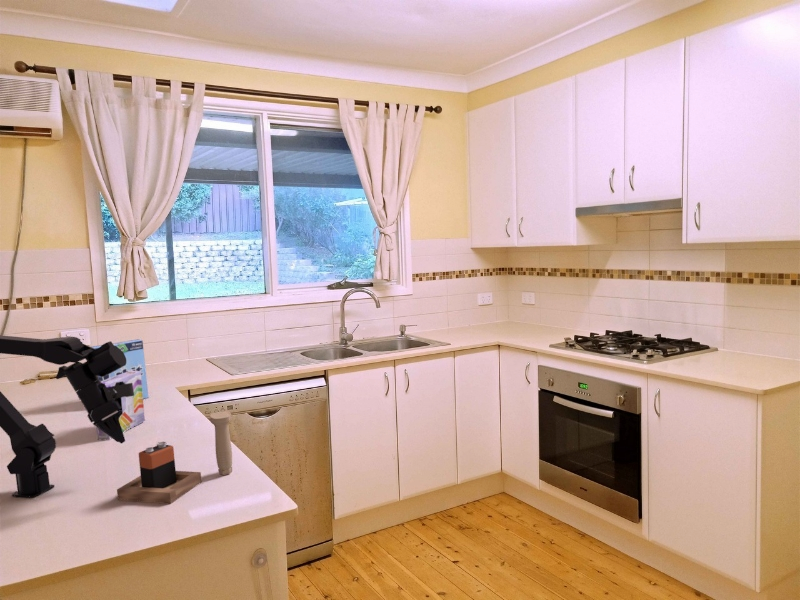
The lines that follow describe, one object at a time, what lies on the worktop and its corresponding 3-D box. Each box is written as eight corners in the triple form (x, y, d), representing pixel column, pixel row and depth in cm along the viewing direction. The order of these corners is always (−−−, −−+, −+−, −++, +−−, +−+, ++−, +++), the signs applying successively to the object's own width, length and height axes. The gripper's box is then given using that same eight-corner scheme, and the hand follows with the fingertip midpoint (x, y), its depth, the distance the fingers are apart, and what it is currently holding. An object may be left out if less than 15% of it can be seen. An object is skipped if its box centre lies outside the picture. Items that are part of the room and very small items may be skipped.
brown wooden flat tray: (118, 499, 138) (116, 489, 138) (152, 479, 150) (151, 469, 149) (170, 503, 134) (169, 492, 134) (201, 482, 146) (200, 472, 146)
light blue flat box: (144, 396, 237) (138, 338, 234) (149, 398, 233) (143, 340, 231) (91, 407, 223) (84, 347, 221) (95, 410, 220) (89, 348, 217)
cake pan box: (108, 441, 182) (102, 384, 180) (93, 441, 183) (87, 384, 181) (147, 422, 201) (142, 370, 199) (133, 421, 202) (128, 370, 200)
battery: (177, 482, 144) (173, 441, 143) (153, 493, 138) (149, 451, 137) (165, 479, 146) (161, 439, 145) (141, 490, 140) (136, 448, 139)
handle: (233, 467, 155) (228, 410, 153) (237, 475, 149) (232, 416, 147) (214, 470, 153) (209, 413, 151) (217, 479, 147) (211, 419, 146)
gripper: (124, 365, 139) (158, 423, 141) (117, 371, 155) (148, 422, 157) (75, 391, 133) (112, 451, 135) (73, 393, 149) (106, 447, 151)
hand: (121, 441), depth 145 cm, fingers open, 9 cm apart
